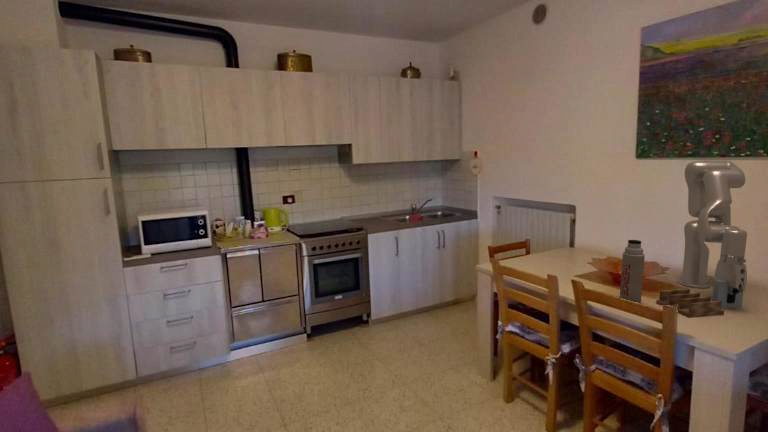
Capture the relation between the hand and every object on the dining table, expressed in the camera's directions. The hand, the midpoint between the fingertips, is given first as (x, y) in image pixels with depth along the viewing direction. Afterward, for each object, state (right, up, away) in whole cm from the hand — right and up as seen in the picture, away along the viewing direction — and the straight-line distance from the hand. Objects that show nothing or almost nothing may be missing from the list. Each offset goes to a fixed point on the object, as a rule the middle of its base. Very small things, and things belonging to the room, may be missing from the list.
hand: (727, 301), depth 170 cm
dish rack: (-16, -3, 0) cm, 16 cm away
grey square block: (0, -3, 0) cm, 3 cm away
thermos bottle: (-36, -3, +7) cm, 37 cm away
